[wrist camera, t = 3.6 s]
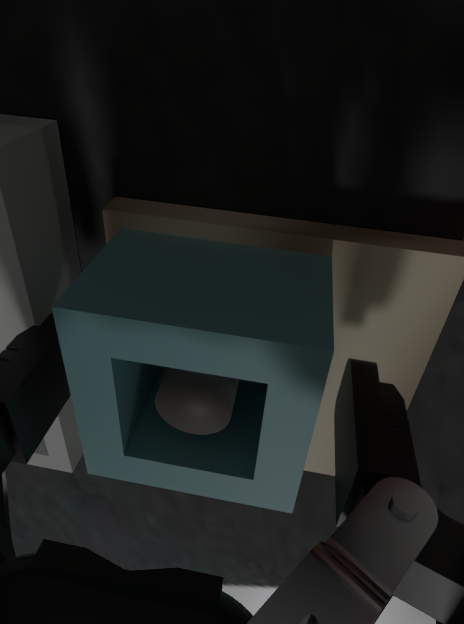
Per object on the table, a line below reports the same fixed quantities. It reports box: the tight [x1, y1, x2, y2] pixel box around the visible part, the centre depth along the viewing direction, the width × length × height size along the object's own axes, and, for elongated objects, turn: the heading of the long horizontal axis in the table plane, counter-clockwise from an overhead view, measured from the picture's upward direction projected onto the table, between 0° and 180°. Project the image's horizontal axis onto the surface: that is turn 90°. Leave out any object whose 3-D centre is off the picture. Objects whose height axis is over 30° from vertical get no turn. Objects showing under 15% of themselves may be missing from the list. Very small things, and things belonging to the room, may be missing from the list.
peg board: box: [102, 197, 464, 476], centre depth 14 cm, size 10×10×4 cm
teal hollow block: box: [52, 228, 334, 513], centre depth 13 cm, size 6×8×4 cm
